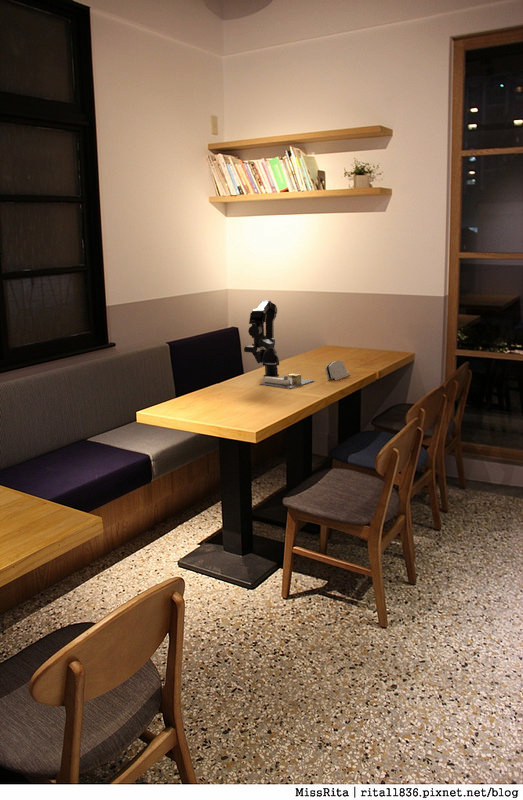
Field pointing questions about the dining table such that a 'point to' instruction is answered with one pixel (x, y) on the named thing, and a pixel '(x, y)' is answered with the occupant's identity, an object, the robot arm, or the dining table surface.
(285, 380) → the link
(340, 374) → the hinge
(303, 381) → the board
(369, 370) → the dining table surface
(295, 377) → the block
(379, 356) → the dining table surface
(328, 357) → the dining table surface
